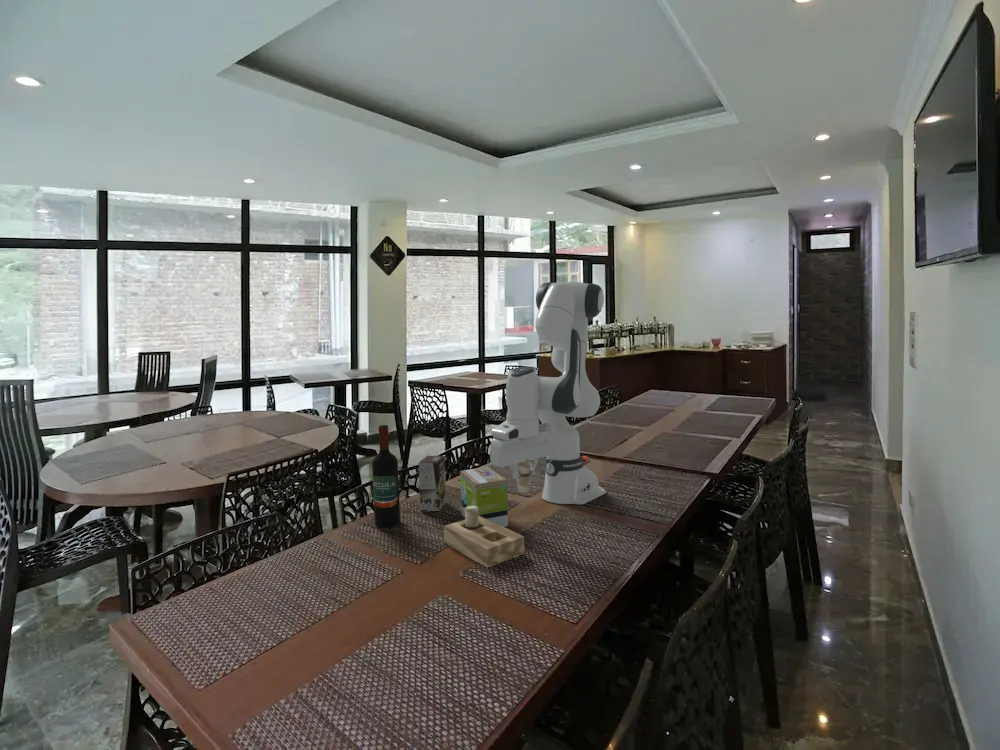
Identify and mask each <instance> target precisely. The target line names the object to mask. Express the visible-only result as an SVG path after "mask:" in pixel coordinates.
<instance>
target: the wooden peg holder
mask: <svg viewBox="0 0 1000 750" xmlns="http://www.w3.org/2000/svg"><path fill="white" fill-rule="evenodd" d="M443 541H444V544H445V545H446V544H447V545H446V546H448V547H450V548H452V549H453V550H455V551H457V552H459V553H460V554H462V555H463V556H466V557H467V558H469V559H470V560H473V562H476V563H477V562H478V563H477V564H479V563H480V564H479V565H481V564H482V565H481V566H483V565H484V566H485V567H484V566H483V567H484V568H486V567H487V568H486V569H489V568H488V567H490V568H492V567H491V566H493V567H495V566H497V565H496V564H498V565H500V564H499V563H501V562H504V561H506V562H508V561H507V560H509V559H512V558H515V557H517V556H519V555H523V554H524V555H525V536H523V535H521V534H520V533H517V532H515V531H513V530H511V529H510V528H507V527H503V526H500V525H498V524H496V523H494V522H492V521H490V520H488V519H486V518H483V517H481V516H478V507H477V506H468V507H466V508H465V517H464V519H463V520H460V521H456V522H452V523H448V524H446V525H443ZM524 555H523V556H524ZM517 558H518V557H517ZM515 559H516V558H515ZM512 560H513V559H512ZM509 561H510V560H509ZM504 563H505V562H504ZM501 564H502V563H501ZM494 565H495V566H494Z"/></svg>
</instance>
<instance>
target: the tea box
mask: <svg viewBox="0 0 1000 750" xmlns="http://www.w3.org/2000/svg"><path fill="white" fill-rule="evenodd" d="M459 478H460V501H461V507H460V508H461V514H462V515H461V516H463V518H465V508H466V507H468V506H477V507H478V516H481V517H483V518H486V519H488V520H490V521H492V522H494V523H496V524H498V525H500V526H503V527H505V528H507V527H508V526H509V515H508V513H509V511H508V510H509V509H508V506H509V505H508V479H506V478H505V477H504V476H502V475H501V474H500V473H498V472H496V471H495V470H494V469H492V468H491V467H490V466H484V467H483V466H482V467H478V468H471V469H464V470H459Z"/></svg>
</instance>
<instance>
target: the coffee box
mask: <svg viewBox="0 0 1000 750" xmlns="http://www.w3.org/2000/svg"><path fill="white" fill-rule="evenodd" d="M418 485H419V510H429V511H428V512H430V511H439V512H440V511H441V510H442V508H443V507H444V506H445V505H446V504H447V491H446V490H447V487H446V485H447V484H446V456H445V455H426V456H425V457H424V458H422V459H421V460H420V461H418ZM445 503H446V504H445ZM444 504H445V505H444ZM443 505H444V506H443ZM442 506H443V507H442ZM441 507H442V508H441Z"/></svg>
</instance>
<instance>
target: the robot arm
mask: <svg viewBox="0 0 1000 750" xmlns="http://www.w3.org/2000/svg"><path fill="white" fill-rule="evenodd" d="M604 303H605V295H604V291H603V289H602V287H601V286H600V285H599V284H596V283H592V282H590V283H587V282H579V281H569V282H567V281H563V282H559V281H558V282H552V281H549V282H544V283H542V284H541V285H539V287H537V290H536V294H535V304H536V308H537V310H538V312H537V315H536V319H535V331H536V333H537V335H538V337H539V338H540V339H541V340H542V342H544V343H546V344H547V345H549V346H550V347H552V352H551V359H550V360H551V363H552V365H553V367H554V368H555V369H556V370H558V371H559V372H560V373H561V374H562V375H560V376H558V377H557V376H555V377H553V376H541V375H540V376H539V375H537V371H536V369H535V368H533V367H530V366H519V367H515V368H513V369H511V370H509V371H508V374H507V377H506V378H507V379H506V387H505V403H506V406H507V412H506V414H505V415H506V416H505V417H506V420H504V421H503V422H501V423H500V424H498V425H497V426H495V427H493V428H492V429H491V430H490V431H491V432H490V434H491V437H493V438H492V439H491V442H490V448H489V449H490V450H489V451H490V452H489V453H490V454H489V459H490V460H489V461H490V463H491V465H492V466H494V467H497V468H504V467H509V469H510V471H511V473H512V478H513V479H514V480H517V479H519V478H521V476H520V475H521V472H518V471H517V467H518V463H522V462H525V461H526V460H527V459H529V460H530V477H531V476H535V472H536V467H537V465H538V463H539V461H538V460H539V459H542V458H544V467H545V477H544V483H543V489H542V495H541V498H542V499H543V500H544V501H546V502H549V503H552V504H559V505H570V504H571V505H584V504H588V503H589V502H591V501H593V500H595V499H597V498H599V497H602V496H603V495H605V494H606V489H604V488H603V487H601V486H599V480H598V476H597V475H596V474H595V473H594V472H592V471H591V470H589V469H588V468H587V467H586V466H585V465H584V463H589V461H590V456H587V455H582V456H581V455H580V453H581V452H580V449H581V448H580V447H581V444H580V440H581V439H580V438H581V437H580V434H579V431H578V430H577V429H576V428H575V427H573V426H572V425H571V424H570V423H569V422H568V420H567V418H566V417H572V418H587V417H593V416H595V414H596V413H597V412H598V410H599V408H600V406H601V397H600V394H599V391H598V390H597V388H596V387H595V386H593V384H592V383H591V382H590V380H589V377H588V375H587V371H586V355H587V346H588V340H589V338H588V337H589V322H591V321H592V320H593V318H595V317H597V316H598V315H599V314H600V313H601V312H602V309H603V306H604Z"/></svg>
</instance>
